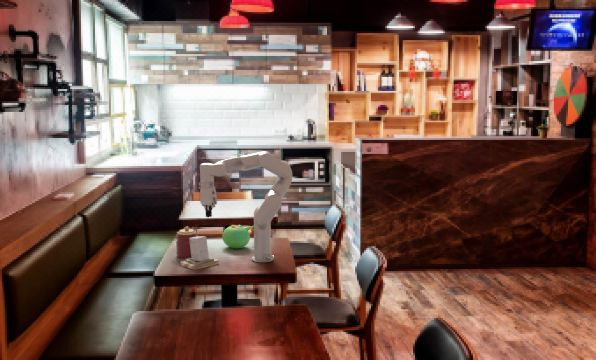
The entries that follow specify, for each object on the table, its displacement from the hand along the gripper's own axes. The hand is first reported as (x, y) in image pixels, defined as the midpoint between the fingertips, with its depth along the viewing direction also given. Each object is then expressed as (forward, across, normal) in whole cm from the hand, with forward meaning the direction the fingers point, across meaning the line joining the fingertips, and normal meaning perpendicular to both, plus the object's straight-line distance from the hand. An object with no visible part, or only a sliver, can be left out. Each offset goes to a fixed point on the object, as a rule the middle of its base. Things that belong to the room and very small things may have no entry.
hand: (208, 216), depth 366 cm
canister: (+26, +18, +2) cm, 32 cm away
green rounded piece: (+27, +10, -30) cm, 41 cm away
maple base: (+26, -1, +9) cm, 27 cm away
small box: (+23, -1, +9) cm, 25 cm away
